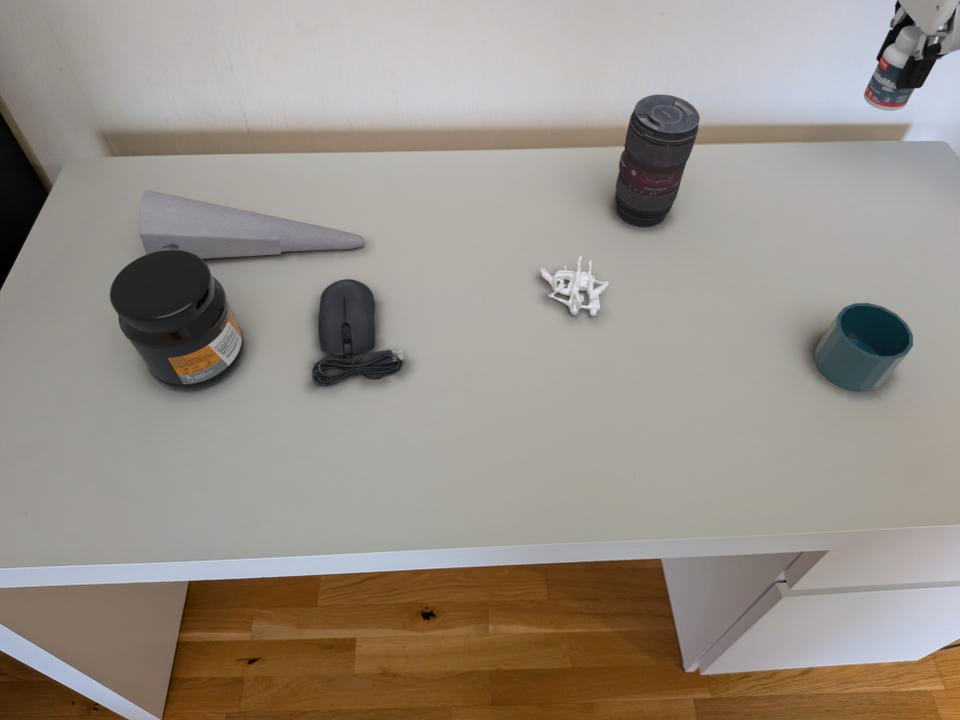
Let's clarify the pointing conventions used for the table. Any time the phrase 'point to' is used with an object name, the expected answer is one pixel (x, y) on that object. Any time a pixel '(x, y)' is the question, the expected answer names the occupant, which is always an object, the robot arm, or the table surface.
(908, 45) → the pill bottle
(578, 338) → the table surface
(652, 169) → the camera lens
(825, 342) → the cup
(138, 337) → the supplement container
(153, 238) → the tapered wedge
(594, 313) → the figurine
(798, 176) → the table surface
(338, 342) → the computer mouse
